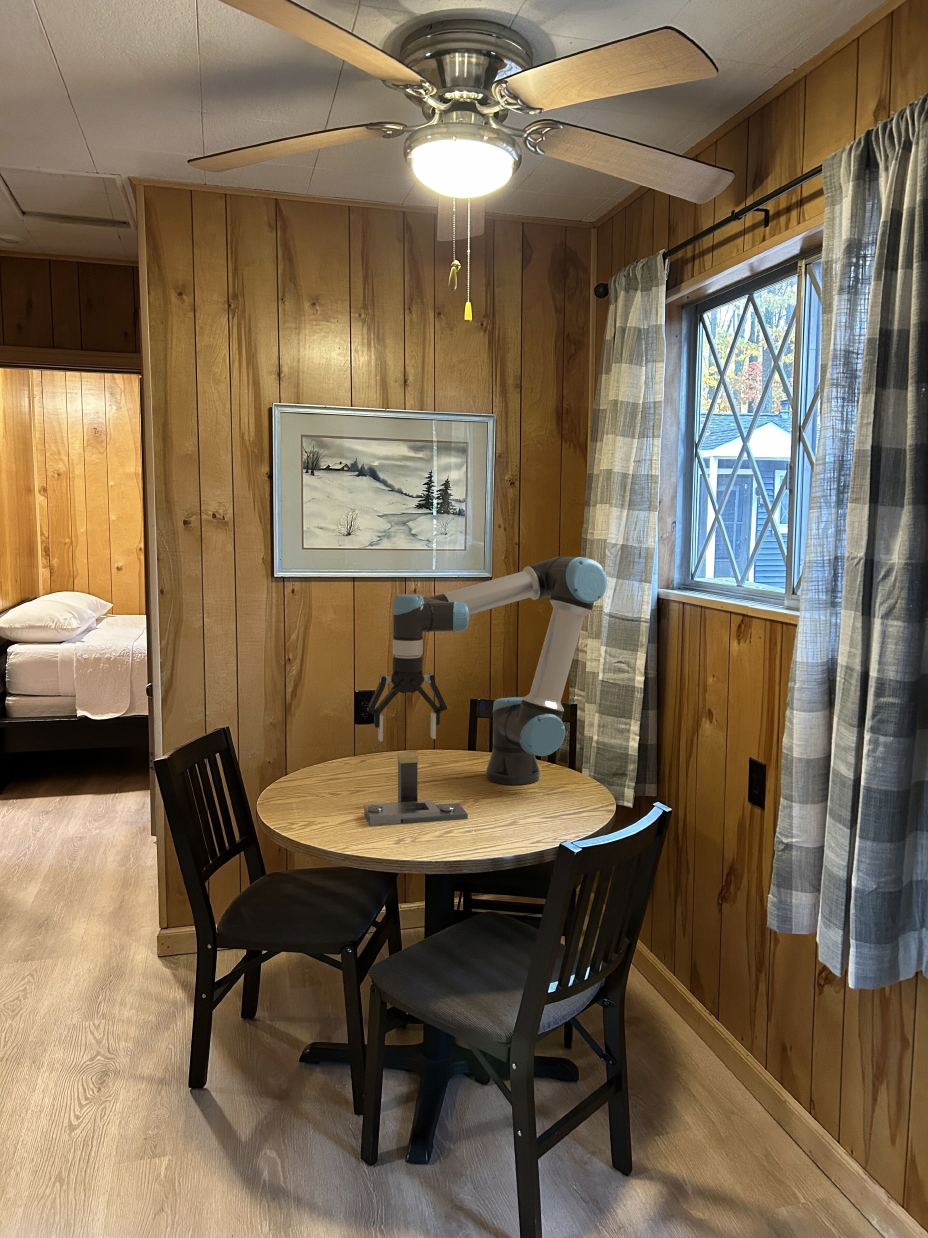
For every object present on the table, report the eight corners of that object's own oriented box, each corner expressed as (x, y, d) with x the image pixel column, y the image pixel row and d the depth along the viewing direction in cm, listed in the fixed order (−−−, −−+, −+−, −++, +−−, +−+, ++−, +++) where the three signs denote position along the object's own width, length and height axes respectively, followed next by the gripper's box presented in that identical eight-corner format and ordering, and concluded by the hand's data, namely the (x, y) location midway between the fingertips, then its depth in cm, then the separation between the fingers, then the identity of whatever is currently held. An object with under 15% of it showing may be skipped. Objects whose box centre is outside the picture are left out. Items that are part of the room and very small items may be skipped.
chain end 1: (431, 809, 229) (431, 798, 228) (439, 820, 220) (439, 808, 220) (364, 814, 224) (364, 802, 224) (369, 826, 216) (369, 814, 215)
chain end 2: (458, 807, 230) (458, 800, 230) (467, 818, 222) (467, 811, 222) (396, 812, 226) (396, 805, 226) (403, 823, 218) (403, 816, 218)
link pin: (414, 801, 236) (414, 752, 234) (418, 806, 231) (418, 756, 230) (397, 802, 234) (397, 753, 233) (400, 807, 230) (400, 757, 229)
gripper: (452, 652, 236) (451, 733, 238) (356, 655, 229) (355, 737, 231) (459, 657, 228) (458, 740, 230) (360, 659, 222) (360, 744, 224)
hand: (406, 739), depth 231 cm, fingers open, 13 cm apart
